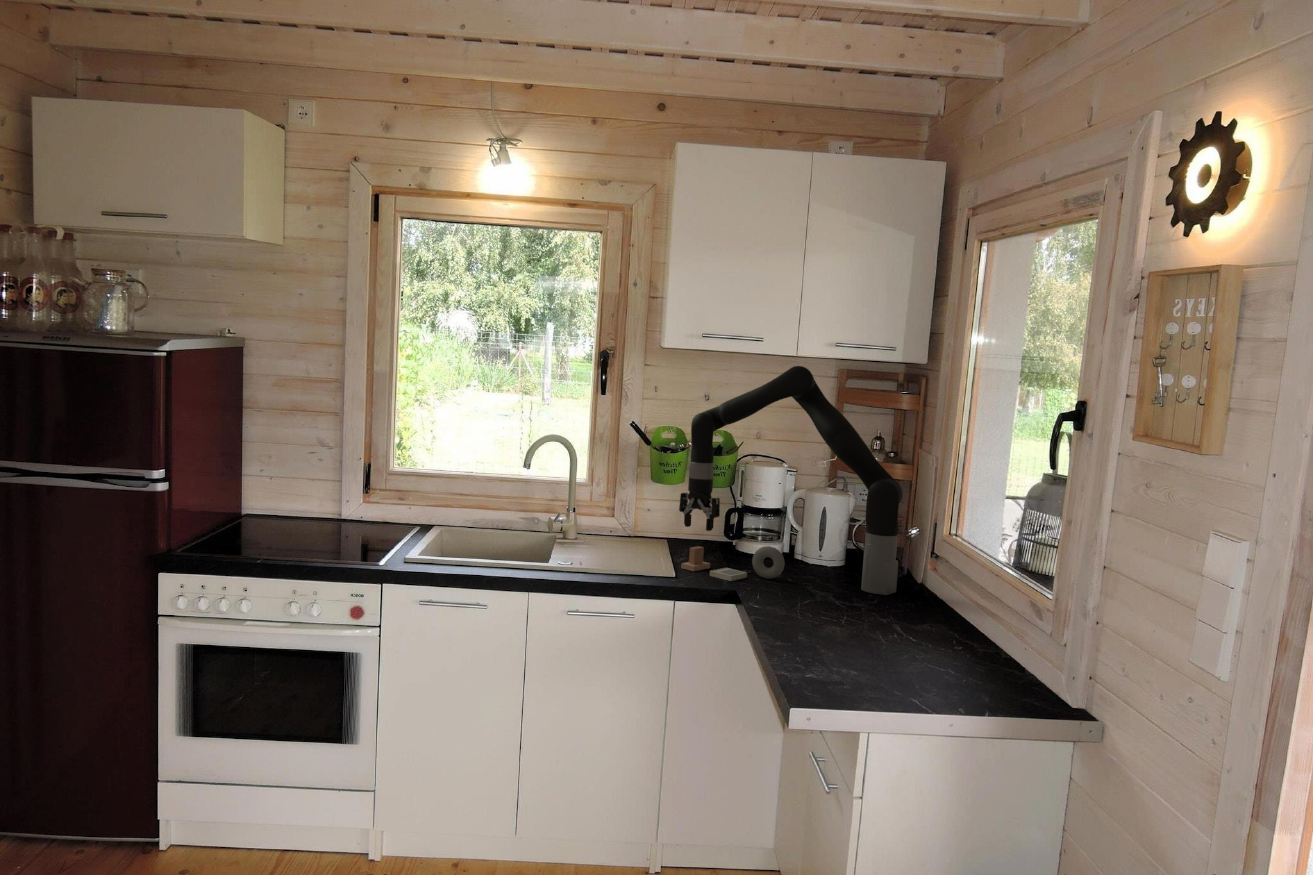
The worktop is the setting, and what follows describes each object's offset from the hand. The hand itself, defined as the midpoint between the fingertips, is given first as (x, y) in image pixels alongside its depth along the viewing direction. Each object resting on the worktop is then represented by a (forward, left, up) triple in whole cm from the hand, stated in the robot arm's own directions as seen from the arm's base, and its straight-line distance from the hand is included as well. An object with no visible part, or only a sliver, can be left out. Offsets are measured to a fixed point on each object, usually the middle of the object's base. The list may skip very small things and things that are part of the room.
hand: (698, 528), depth 288 cm
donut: (-21, -8, -13) cm, 26 cm away
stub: (0, 0, -13) cm, 13 cm away
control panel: (-13, 0, -13) cm, 18 cm away
